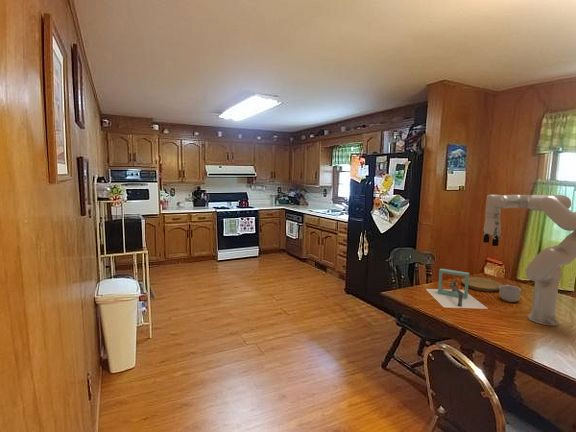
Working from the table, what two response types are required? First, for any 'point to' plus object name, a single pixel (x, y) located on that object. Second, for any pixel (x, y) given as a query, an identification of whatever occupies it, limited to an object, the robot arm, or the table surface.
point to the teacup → (509, 293)
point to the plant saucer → (482, 284)
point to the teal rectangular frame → (453, 293)
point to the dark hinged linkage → (453, 286)
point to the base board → (455, 300)
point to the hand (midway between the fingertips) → (490, 244)
